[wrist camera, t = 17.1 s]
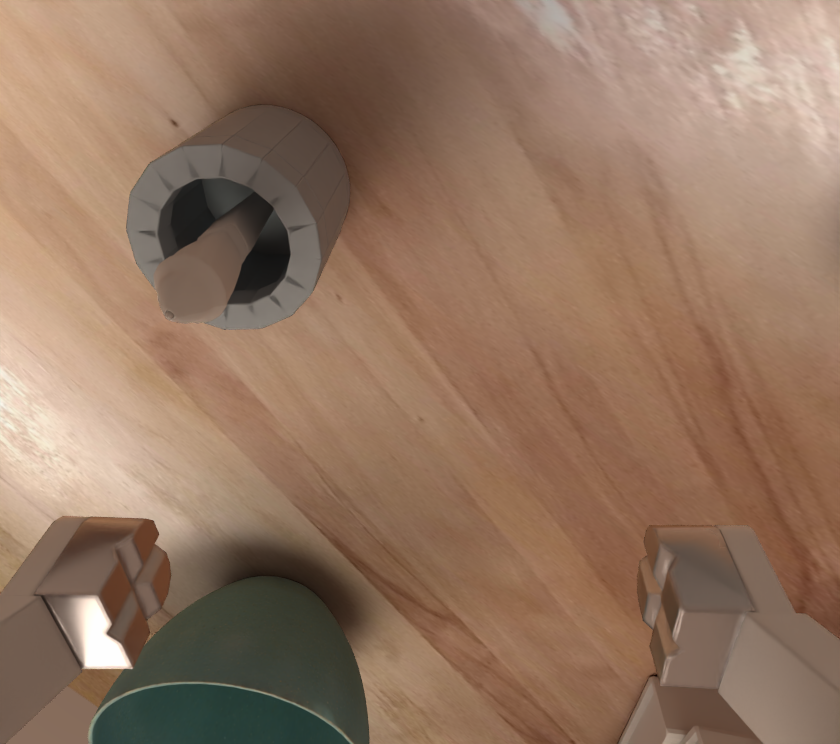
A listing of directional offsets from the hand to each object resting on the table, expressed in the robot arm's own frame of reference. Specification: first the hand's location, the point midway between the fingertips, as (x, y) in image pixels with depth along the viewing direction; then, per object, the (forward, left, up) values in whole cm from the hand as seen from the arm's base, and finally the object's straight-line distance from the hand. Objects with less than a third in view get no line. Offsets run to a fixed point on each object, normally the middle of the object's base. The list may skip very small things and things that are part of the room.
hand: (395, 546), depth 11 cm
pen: (+1, -9, -25) cm, 27 cm away
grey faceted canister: (+1, -9, -26) cm, 27 cm away
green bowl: (+35, -15, -26) cm, 46 cm away
